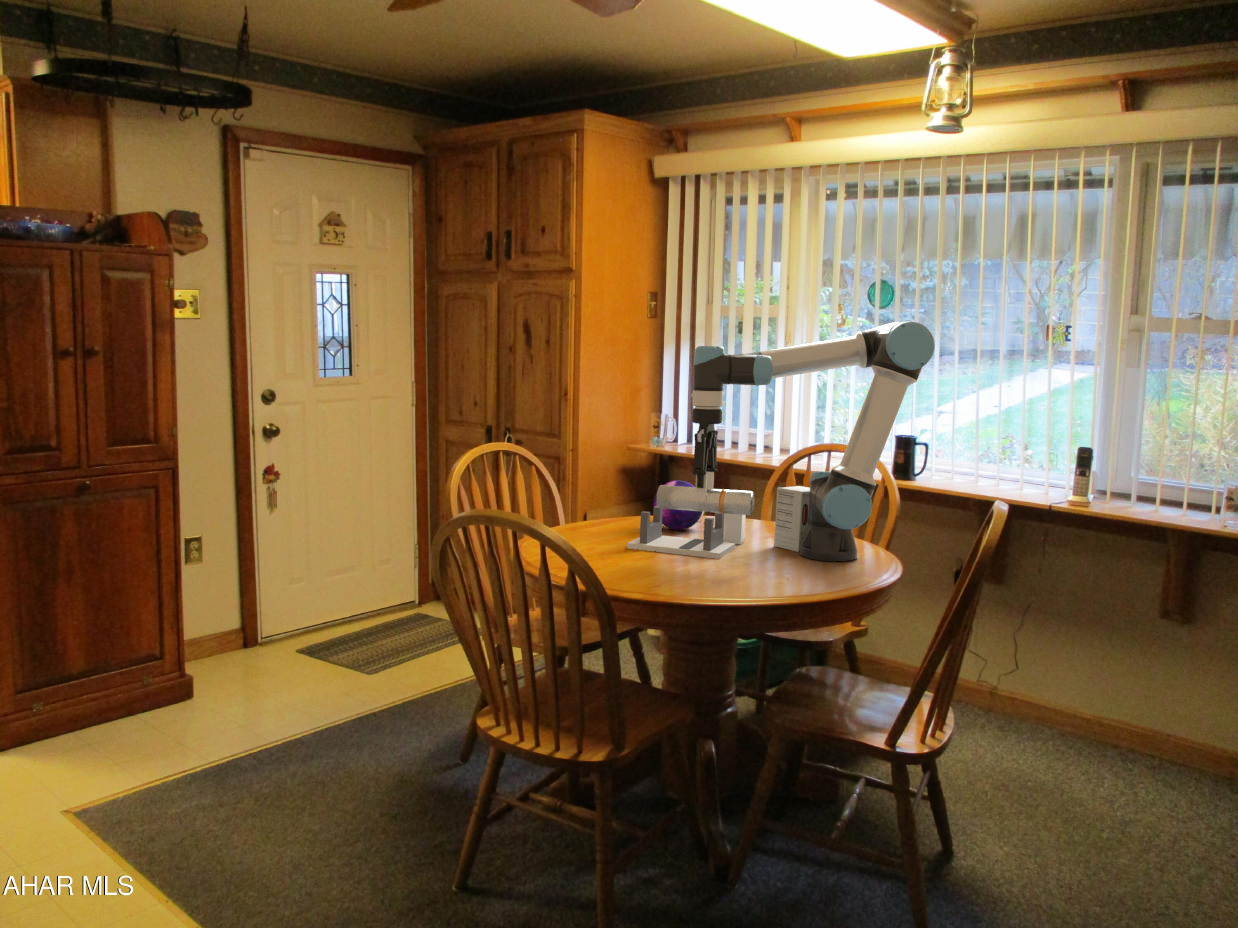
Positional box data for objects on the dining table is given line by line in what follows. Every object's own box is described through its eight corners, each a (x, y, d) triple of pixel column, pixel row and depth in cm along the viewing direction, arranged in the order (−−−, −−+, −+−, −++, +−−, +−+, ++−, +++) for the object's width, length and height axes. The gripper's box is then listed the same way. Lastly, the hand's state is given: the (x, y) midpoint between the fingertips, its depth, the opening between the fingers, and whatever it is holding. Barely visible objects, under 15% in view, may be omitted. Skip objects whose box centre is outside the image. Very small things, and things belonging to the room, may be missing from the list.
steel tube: (754, 508, 243) (753, 486, 241) (749, 519, 238) (748, 498, 236) (664, 501, 252) (662, 480, 249) (657, 512, 247) (655, 491, 244)
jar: (750, 543, 273) (752, 501, 272) (730, 546, 268) (732, 503, 267) (728, 537, 280) (729, 497, 279) (708, 540, 275) (709, 499, 274)
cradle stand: (734, 548, 265) (736, 512, 264) (719, 558, 251) (721, 521, 250) (646, 538, 275) (647, 504, 273) (627, 548, 261) (628, 512, 260)
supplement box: (798, 552, 263) (801, 491, 260) (772, 546, 270) (775, 487, 268) (820, 548, 269) (824, 489, 267) (795, 542, 276) (798, 484, 274)
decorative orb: (646, 525, 295) (647, 477, 294) (691, 524, 300) (693, 476, 298) (662, 535, 281) (664, 484, 279) (710, 533, 286) (712, 483, 284)
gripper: (703, 405, 251) (700, 492, 254) (682, 409, 234) (679, 502, 236) (731, 406, 249) (727, 494, 251) (712, 410, 231) (708, 505, 234)
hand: (704, 498), depth 244 cm, fingers closed on steel tube, 6 cm apart
